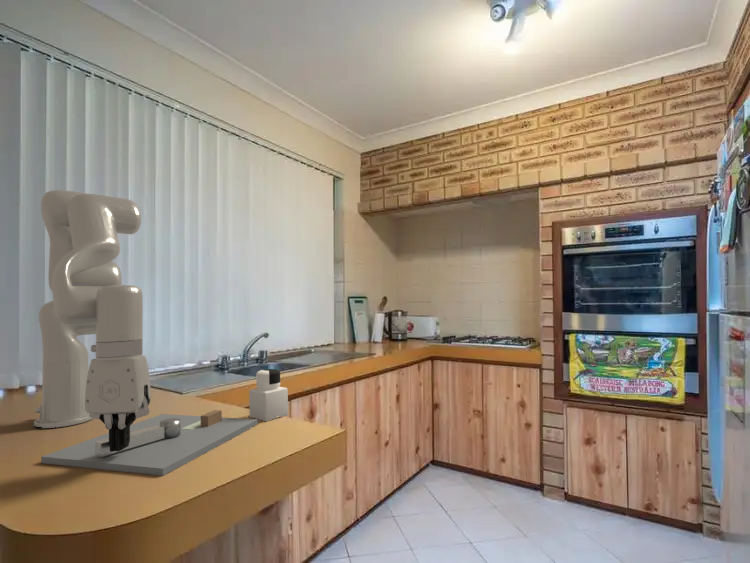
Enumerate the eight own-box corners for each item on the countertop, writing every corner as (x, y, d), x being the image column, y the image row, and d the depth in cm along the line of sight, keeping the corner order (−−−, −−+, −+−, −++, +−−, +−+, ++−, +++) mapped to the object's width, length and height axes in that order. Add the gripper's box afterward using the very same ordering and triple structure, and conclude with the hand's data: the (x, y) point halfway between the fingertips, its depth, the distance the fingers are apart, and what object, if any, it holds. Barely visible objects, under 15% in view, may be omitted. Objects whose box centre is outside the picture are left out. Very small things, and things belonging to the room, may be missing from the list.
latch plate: (41, 463, 78) (41, 443, 78) (162, 418, 107) (162, 404, 107) (163, 475, 70) (163, 454, 70) (257, 424, 99) (257, 409, 99)
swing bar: (174, 430, 91) (173, 417, 91) (184, 433, 89) (184, 419, 89) (92, 454, 77) (93, 438, 77) (103, 458, 75) (103, 441, 75)
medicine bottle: (271, 411, 111) (271, 366, 112) (288, 415, 107) (287, 369, 107) (248, 417, 106) (248, 370, 106) (265, 422, 101) (265, 373, 102)
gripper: (65, 353, 74) (64, 457, 73) (147, 351, 74) (147, 455, 73) (95, 349, 82) (94, 443, 81) (169, 347, 81) (169, 441, 80)
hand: (119, 448), depth 77 cm, fingers closed
